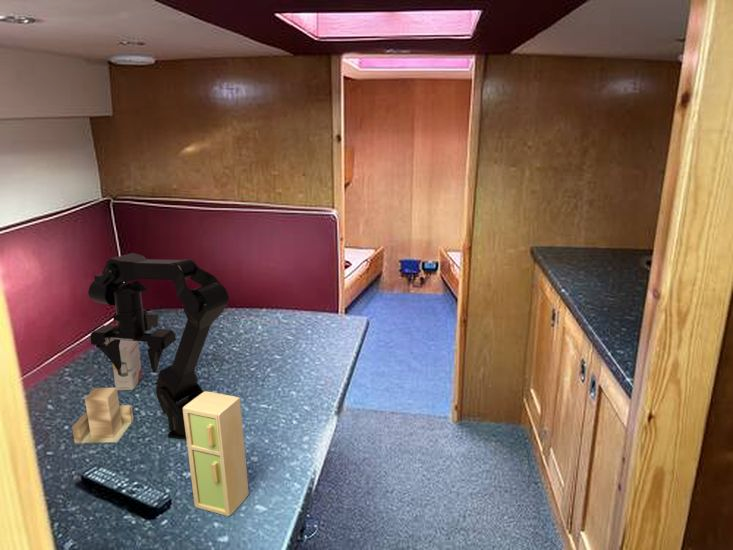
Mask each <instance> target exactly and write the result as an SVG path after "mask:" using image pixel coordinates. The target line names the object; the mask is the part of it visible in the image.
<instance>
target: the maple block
mask: <svg viewBox="0 0 733 550" xmlns="http://www.w3.org/2000/svg"><path fill="white" fill-rule="evenodd" d="M119 401H120V400H119V393H118V390H117V388H115V387H94V388H93V389H92V390H91V392H90V393H89V394H88V395H87V396H85V398H84V402H85V408H86V411H87V415H88V421H89V428H90V434H91V438H114V437H115V435H116V434H117V433H118V431H119V430H120V429H121V427H122V420H121V413H120V406H119V405H120V402H119Z"/></svg>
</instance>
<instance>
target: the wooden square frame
mask: <svg viewBox="0 0 733 550" xmlns="http://www.w3.org/2000/svg"><path fill="white" fill-rule="evenodd" d="M119 406H120V413H121V420H122V427H121V429H120V430H119V431H118V433H117V434H116V435H115V437H114V438H91V434H90V428H89V421H88V415H87V410H86V411H85V413H83V415H82V416H80V418H79V419H78V420H77V421H76V422H75V423H74V424H73V425H72V426H71V428H72V429H71V430H72V436H73V440H74V444H90V443H91V444H92V443H94V444H95V443H99V444H100V443H118V442H119V441H120V440H121V438H122V437H123V436H124V434H125V433H126V431H127V430H128V428H130V426H131V424H132V423H133V422H134V414H133V413H134V411H133V405H132V404H123V405H121V404H119Z"/></svg>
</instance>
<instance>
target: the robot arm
mask: <svg viewBox="0 0 733 550" xmlns="http://www.w3.org/2000/svg"><path fill="white" fill-rule="evenodd" d="M93 277H94V280H93V281H92V282H91V284H90V285H89V288H88V291H87V293H88V297H89V298H90V299H91V300H92V301H94V302H95V303H100V304H104V305H107V306H115V313H116V314H114V315H113V317H112V318H113V321H114V322H115V321H116V322H117V326H116V325H105V324H103V325H102V326H101V327H98V328H97V329H95V330H93V331H91V333H90V336H89V342H90V345H93V346H94V345H95V348H96V349H99V350H101V352H102V353H103V354H104V355H105V356H106V357H107V358H108V359H109V361H110V362H111V364H112V363H113V365H114V366H115V367H116V368H117V370H119V369H121V356H120V349H119V344H120V340H128V341H139V342H145V343H147V346H148V347H149V348H148V349H147V355H148V359H149V364H150V368H151V371H152V373H157V371H158V368H159V365H160V364H159V363H160V361H161V358H162V354H163V352H164V350H166V349H167V348H168V347H169V346H171V345H173V343H174V342H176V341H177V339H176V333H175V331H173V329H167V328H166V329H165V328H164V329H163V328H158V325H159V314H157V313H155V314H154V313H148V310H147V308H143V300H142V293H143V292H145V291H148V288H147V287H146V286H145V285H144V284H142V283H141V281H139V280H138V279H140V280H141V279H143V280H165V281H168V280H169V281H171V282H172V283H173V285H174V286H175V291H176V296H177V298H178V300H179V301H180V302H181V303H182V304H183V312H184V314H185V317H186V324H185V326H184V329H183V332H182V336H181V338H180V340H179V344H178V347H177V350H176V354H175V356H174V360H173V362H172V364H171V365H169V366H167V367H165V368H163V369H161V370H160V371H159V372H158V375H157V380H156V381H155V383H154V384H155V385H156V387H155V392H156V393H155V394H156V398H157V400H158V403H159V407H160V408H161V411H162V413H163V414H165V415H166V417H167V422H168V430H169V432H168V434H167V438H173V439H180V440H181V439H183V440H187V439H186V432H185V424H184V416H183V407H184V406H185V405H186V404H188V403H189V402H191V401H192V400H193V399H195V398H196V397H197V396H199V395H200V394H201V393H203V392H205V391H204V390H203V388H202V387H201V386H200V384H199V382H198V379H199V378H198V376H197V373H196V371H195V370H196V367H197V364H198V361H199V358H200V356H201V353H202V350H203V347H204V346H205V345H204V344H205V342H206V339H207V337H208V334H209V331H210V328H211V325H212V324H213V323H214V322H215V320H217V318H218V317H219V316H221V314H222V313H224V311H225V308H226V307H227V305H228V304H229V298H230V297H229V296H230V295H229V293H228V291H227V289H226V287H224V285H223V284H222V283H221V282H220V281H219V280H218V279H217V277H215V275H213V274H212V273H210V272H208V271H206V270H204V269H202V268H201V267H199V266H198V265H197V264H196V262H195V261H194V260H192V259H188V258H185V259H156V258H155V259H153V258H152V259H149V258H146V257H145V256H144V255H142V254H139V253H135V252H131V253H128V254H123V255H120V256H116V257H115V256H114V257H111V258H108V259H106V264H105V265H104V269H103V271H102V272H101V273H99V274H95V275H94V276H93ZM187 279H190V280H191V281H193V282H195V283H197V284H198V285H201V286H198V287H196V288H193V289H190V288H189V287H188V286H187V282H186V280H187ZM133 280H136V281H133ZM130 281H132V282H130ZM152 327H153V328H158V329H157V330H155V331H154V332H152V333H147V332H148V331H151V330H152ZM113 365H112V366H113Z"/></svg>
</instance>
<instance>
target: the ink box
mask: <svg viewBox="0 0 733 550" xmlns="http://www.w3.org/2000/svg"><path fill="white" fill-rule="evenodd" d="M139 342H140V341H128V340H120V344H119V349H120V356H121V369H119V370H117V368H116V367H115V366H114V365H113V363H112V362H111V364H112V371H113V379H114V388H117V391H133V389H134V388H136V386H137V385H138V383H139V382H140V380H141V379H142V377H143V375H142V372H143V371H142V363H141V353H140V343H139ZM134 390H135V389H134Z"/></svg>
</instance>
